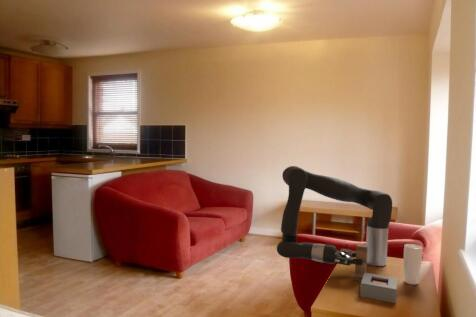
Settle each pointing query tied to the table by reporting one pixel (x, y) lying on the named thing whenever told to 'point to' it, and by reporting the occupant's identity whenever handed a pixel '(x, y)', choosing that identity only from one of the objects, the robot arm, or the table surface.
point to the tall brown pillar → (361, 254)
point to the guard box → (379, 287)
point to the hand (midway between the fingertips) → (363, 259)
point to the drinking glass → (412, 263)
